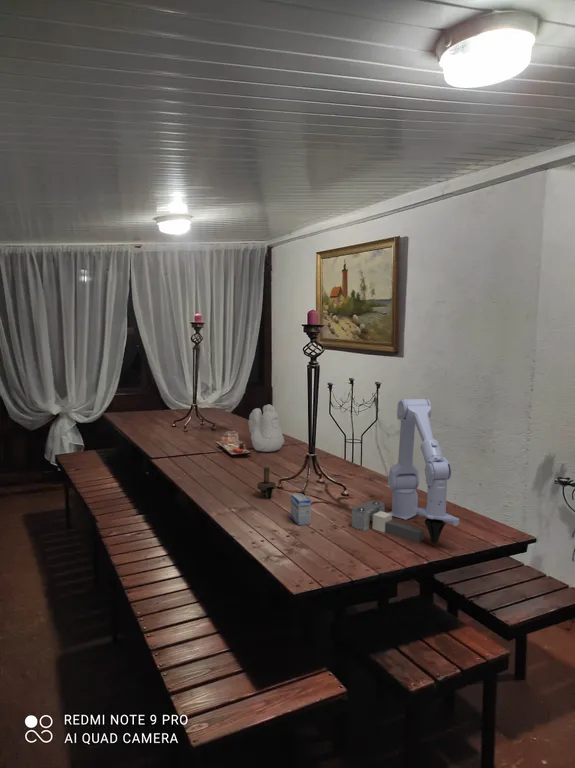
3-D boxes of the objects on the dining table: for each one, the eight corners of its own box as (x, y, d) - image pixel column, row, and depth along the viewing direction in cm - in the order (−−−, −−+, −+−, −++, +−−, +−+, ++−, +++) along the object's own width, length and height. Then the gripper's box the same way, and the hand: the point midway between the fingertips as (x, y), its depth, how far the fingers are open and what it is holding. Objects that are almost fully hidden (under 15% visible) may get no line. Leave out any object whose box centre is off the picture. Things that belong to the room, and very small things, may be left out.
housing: (372, 517, 198) (372, 499, 197) (384, 521, 194) (384, 502, 193) (351, 527, 189) (352, 507, 188) (363, 531, 186) (364, 511, 185)
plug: (380, 525, 191) (380, 511, 190) (424, 539, 179) (425, 524, 179) (372, 528, 188) (372, 514, 187) (417, 543, 176) (418, 528, 176)
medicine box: (290, 518, 197) (290, 494, 196) (302, 516, 198) (302, 492, 197) (298, 526, 190) (298, 501, 188) (310, 524, 191) (311, 499, 190)
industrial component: (278, 499, 217) (278, 469, 215) (261, 501, 214) (261, 470, 213) (270, 492, 225) (270, 462, 224) (253, 494, 223) (253, 464, 221)
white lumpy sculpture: (288, 453, 288) (289, 405, 285) (260, 456, 281) (260, 407, 278) (269, 442, 310) (269, 398, 307) (242, 445, 304) (242, 400, 301)
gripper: (409, 497, 175) (407, 538, 177) (452, 508, 165) (450, 552, 167) (420, 492, 180) (419, 532, 182) (463, 502, 170) (461, 545, 172)
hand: (434, 541), depth 175 cm, fingers closed
